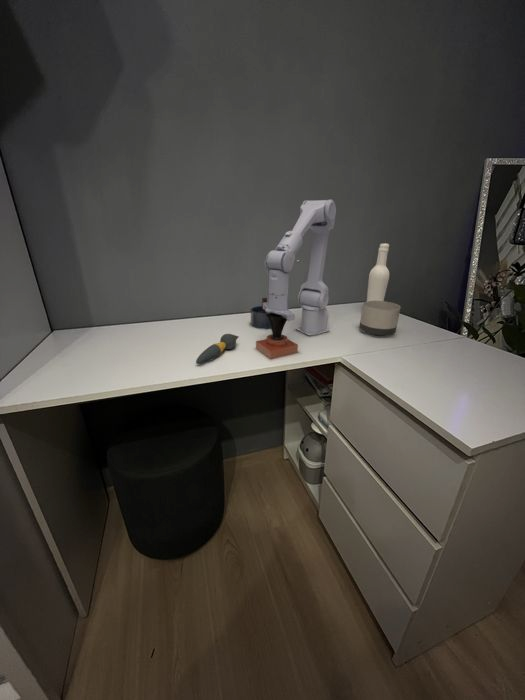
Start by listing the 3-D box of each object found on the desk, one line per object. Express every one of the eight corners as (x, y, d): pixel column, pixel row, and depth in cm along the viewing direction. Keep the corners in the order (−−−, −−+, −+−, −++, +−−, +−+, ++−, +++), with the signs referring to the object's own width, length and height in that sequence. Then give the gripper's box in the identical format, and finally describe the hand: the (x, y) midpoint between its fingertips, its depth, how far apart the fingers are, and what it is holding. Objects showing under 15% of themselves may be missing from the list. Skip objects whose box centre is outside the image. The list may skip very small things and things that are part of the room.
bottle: (359, 313, 134) (370, 242, 121) (377, 313, 134) (389, 242, 122) (367, 319, 126) (379, 244, 114) (385, 318, 127) (399, 244, 115)
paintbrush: (207, 369, 83) (206, 353, 81) (193, 366, 85) (191, 349, 83) (242, 345, 99) (241, 330, 97) (229, 342, 101) (228, 328, 99)
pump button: (278, 339, 96) (278, 333, 95) (284, 343, 93) (284, 337, 92) (268, 341, 94) (269, 335, 94) (275, 345, 92) (275, 339, 91)
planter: (372, 324, 120) (376, 299, 115) (402, 333, 110) (408, 306, 106) (351, 330, 113) (355, 303, 109) (381, 341, 103) (386, 312, 99)
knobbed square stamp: (281, 343, 101) (282, 330, 99) (297, 352, 94) (298, 339, 92) (255, 348, 96) (255, 335, 94) (270, 359, 89) (270, 345, 87)
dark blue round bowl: (268, 318, 126) (269, 304, 123) (283, 325, 117) (283, 311, 115) (246, 322, 121) (245, 308, 118) (259, 330, 112) (259, 315, 110)
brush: (266, 319, 122) (267, 295, 118) (274, 323, 118) (274, 299, 114) (254, 321, 120) (254, 297, 116) (261, 325, 115) (262, 300, 111)
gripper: (254, 290, 91) (254, 331, 97) (280, 300, 80) (278, 346, 85) (273, 287, 95) (272, 328, 100) (301, 297, 83) (298, 342, 89)
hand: (276, 336), depth 93 cm, fingers closed, pressing on pump button
